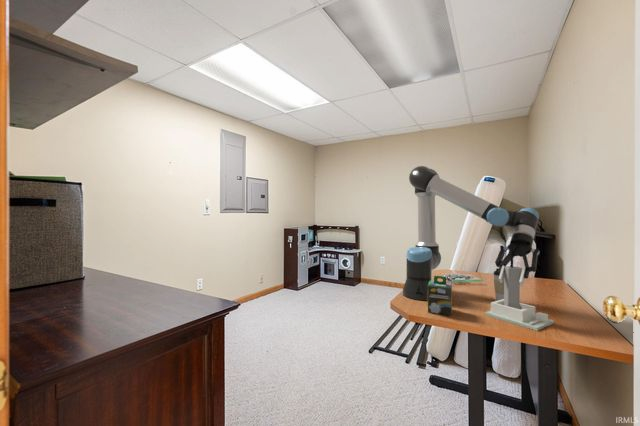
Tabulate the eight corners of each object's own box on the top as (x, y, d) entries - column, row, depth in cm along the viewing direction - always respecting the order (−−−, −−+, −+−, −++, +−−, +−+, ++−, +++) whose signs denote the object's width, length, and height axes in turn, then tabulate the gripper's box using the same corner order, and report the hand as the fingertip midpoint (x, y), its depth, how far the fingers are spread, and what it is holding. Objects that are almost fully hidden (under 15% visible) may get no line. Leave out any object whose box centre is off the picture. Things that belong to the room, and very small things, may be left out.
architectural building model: (484, 314, 115) (484, 302, 115) (502, 309, 122) (502, 297, 122) (537, 330, 99) (537, 316, 99) (553, 323, 107) (554, 309, 107)
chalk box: (451, 309, 121) (452, 274, 121) (451, 316, 112) (452, 279, 112) (428, 306, 125) (429, 272, 125) (427, 312, 116) (427, 276, 116)
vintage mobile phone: (522, 311, 110) (523, 247, 110) (507, 310, 111) (508, 246, 111) (517, 308, 114) (518, 246, 114) (503, 307, 115) (504, 245, 115)
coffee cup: (518, 302, 132) (519, 269, 132) (512, 306, 126) (512, 272, 126) (496, 297, 139) (497, 266, 139) (489, 301, 133) (490, 269, 133)
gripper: (552, 245, 115) (542, 293, 105) (499, 241, 130) (485, 283, 119) (549, 233, 112) (539, 281, 101) (495, 230, 126) (481, 272, 115)
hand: (510, 282), depth 110 cm, fingers closed on vintage mobile phone, 6 cm apart
